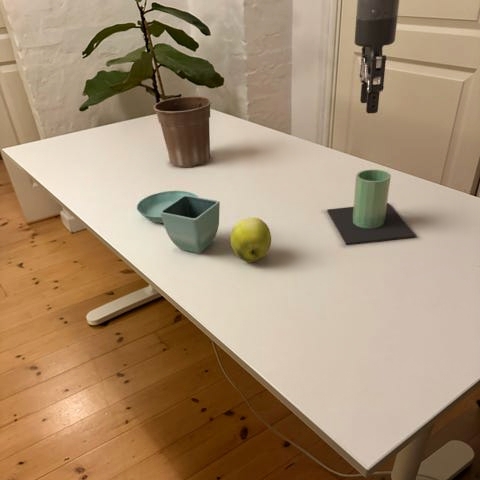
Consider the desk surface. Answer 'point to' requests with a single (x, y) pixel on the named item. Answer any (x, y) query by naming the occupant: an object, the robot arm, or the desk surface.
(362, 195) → the cup
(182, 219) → the flower pot
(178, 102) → the plant pot
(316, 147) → the desk surface
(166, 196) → the saucer
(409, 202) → the desk surface
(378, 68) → the robot arm
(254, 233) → the apple
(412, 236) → the mat
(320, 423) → the desk surface
